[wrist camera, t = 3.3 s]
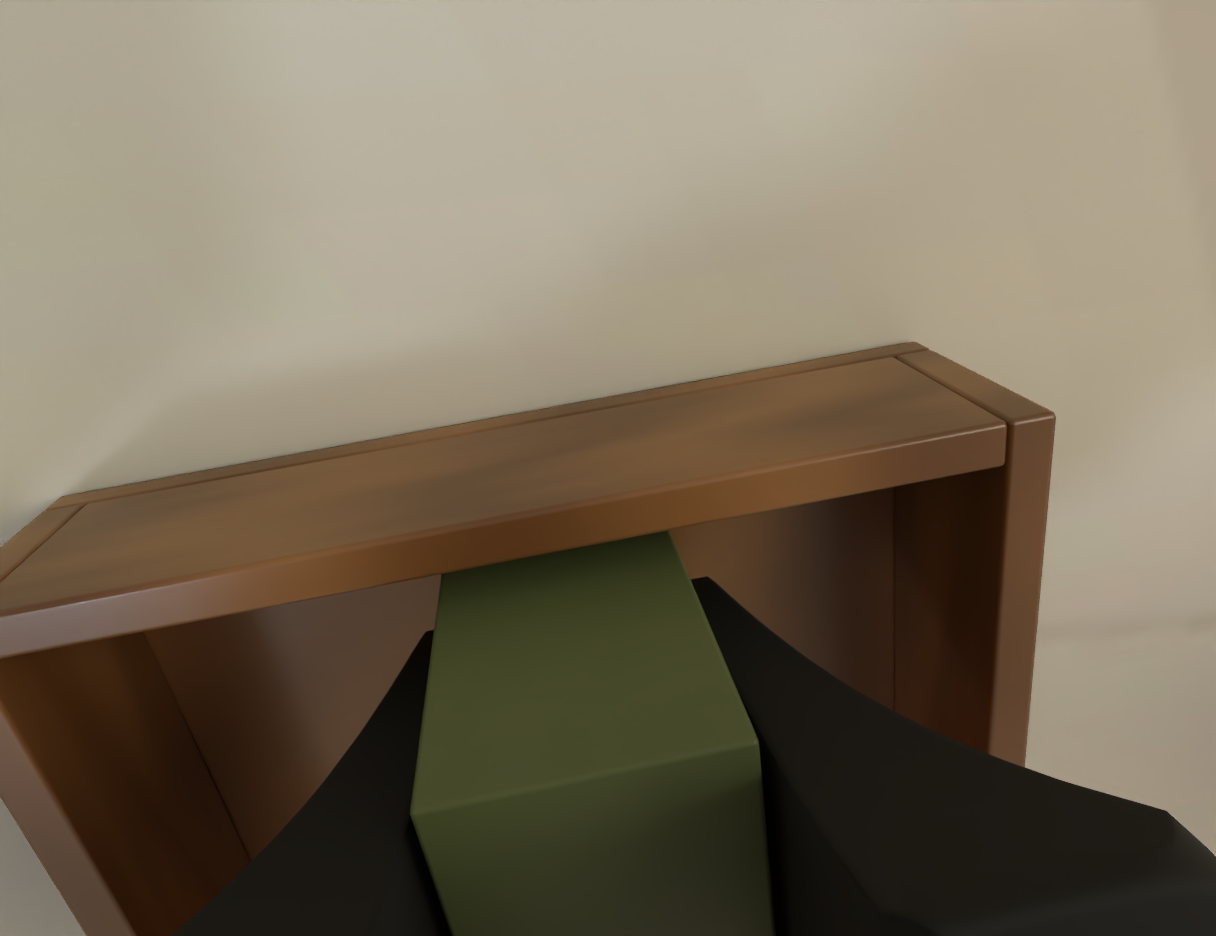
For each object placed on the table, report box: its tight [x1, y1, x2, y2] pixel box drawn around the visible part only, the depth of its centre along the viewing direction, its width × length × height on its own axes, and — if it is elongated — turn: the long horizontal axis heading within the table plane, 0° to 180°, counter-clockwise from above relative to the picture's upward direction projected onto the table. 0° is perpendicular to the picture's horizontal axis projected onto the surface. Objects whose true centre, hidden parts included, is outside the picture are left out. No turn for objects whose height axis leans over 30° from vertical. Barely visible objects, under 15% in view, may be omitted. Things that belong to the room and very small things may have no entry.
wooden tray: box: [0, 342, 1056, 936], centre depth 13 cm, size 13×11×4 cm
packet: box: [410, 530, 776, 936], centre depth 10 cm, size 3×4×6 cm, turn 8°
